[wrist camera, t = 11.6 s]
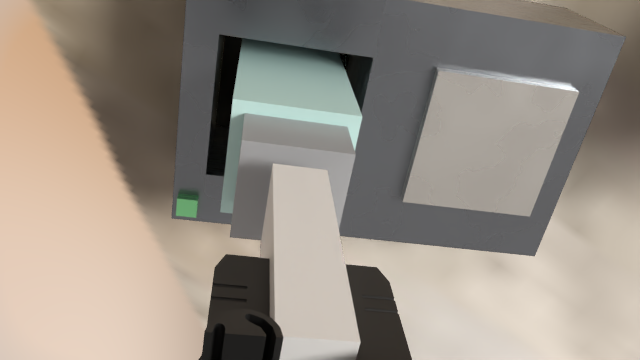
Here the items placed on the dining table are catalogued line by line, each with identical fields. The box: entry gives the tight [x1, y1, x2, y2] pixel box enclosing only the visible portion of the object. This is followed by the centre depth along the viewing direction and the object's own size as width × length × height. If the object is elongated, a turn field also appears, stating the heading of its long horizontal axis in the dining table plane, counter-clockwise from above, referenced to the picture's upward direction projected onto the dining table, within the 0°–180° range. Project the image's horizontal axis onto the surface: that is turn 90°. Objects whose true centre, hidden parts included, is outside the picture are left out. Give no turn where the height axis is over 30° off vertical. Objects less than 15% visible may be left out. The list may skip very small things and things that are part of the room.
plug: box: [220, 38, 362, 240], centre depth 22 cm, size 4×4×11 cm
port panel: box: [172, 0, 626, 256], centre depth 25 cm, size 10×16×5 cm, turn 80°
